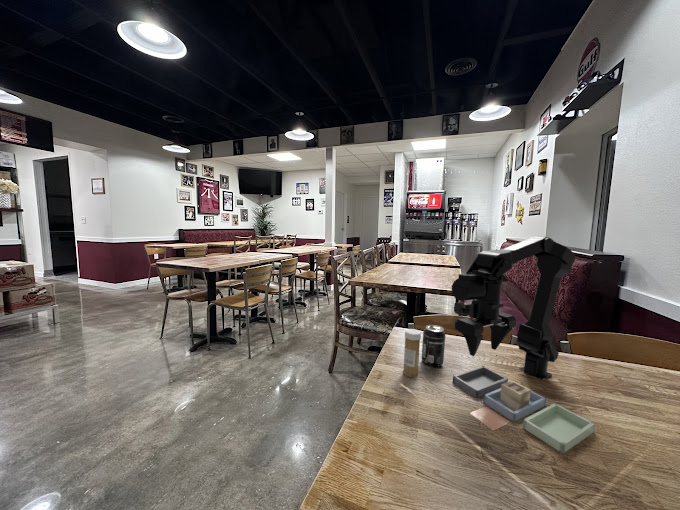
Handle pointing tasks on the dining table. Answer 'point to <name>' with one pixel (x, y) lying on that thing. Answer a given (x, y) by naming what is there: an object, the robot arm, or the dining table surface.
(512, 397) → the letter cube
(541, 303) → the robot arm
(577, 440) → the green tray
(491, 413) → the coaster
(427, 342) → the beverage can
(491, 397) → the slate tray
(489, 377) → the charcoal tray
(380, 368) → the dining table surface
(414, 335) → the sprinkles bottle
